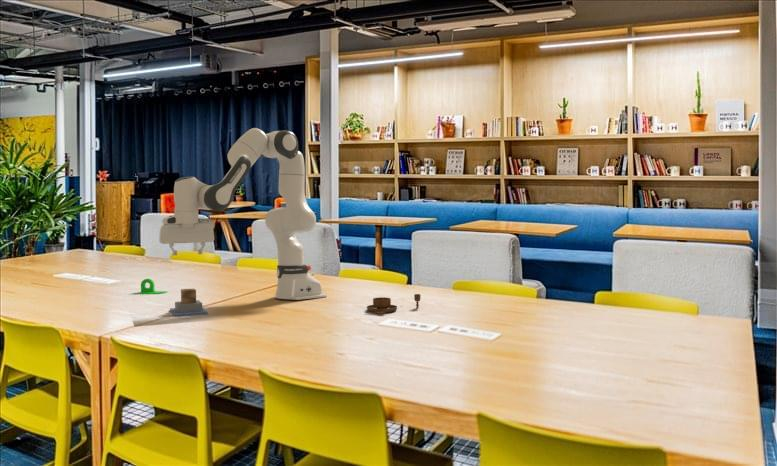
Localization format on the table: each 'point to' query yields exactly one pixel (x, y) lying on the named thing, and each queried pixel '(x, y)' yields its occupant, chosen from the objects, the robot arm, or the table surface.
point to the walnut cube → (188, 296)
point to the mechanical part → (149, 290)
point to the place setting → (386, 305)
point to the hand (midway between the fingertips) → (187, 254)
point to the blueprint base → (188, 309)
